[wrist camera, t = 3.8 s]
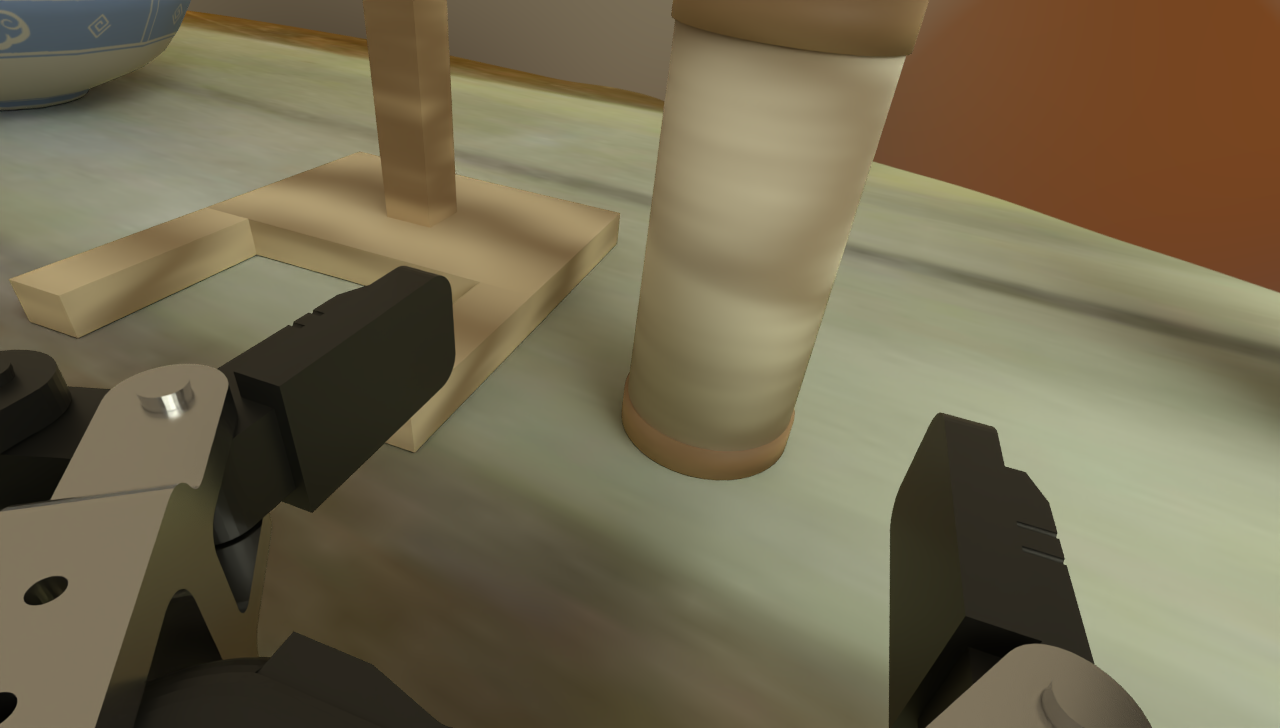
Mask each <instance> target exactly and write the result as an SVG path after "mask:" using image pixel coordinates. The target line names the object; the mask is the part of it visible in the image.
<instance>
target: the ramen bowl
mask: <svg viewBox="0 0 1280 728" xmlns="http://www.w3.org/2000/svg"><path fill="white" fill-rule="evenodd" d="M190 1H191V0H0V110H17V109H30V108H43V107H47V106H52V105H57V104H62V103H67V102H69V101H72V100H75V99H78V98H81V97H83V96H84V95H85V94H87V92H88V90H89V89H90V88H92V87H95V86H98V85H100V84H103V83H106V82H108V81H111V80H113V79H116V78H118V77H121V76H123V75H125V74H128V73H130V72H132V71H134V70H137V69H139V68H141V67H144V66H145V65H147V64H148V63H149V62H150V61H152V60H153V59H154V58H156V57H157V56H158V55H159V54H161V53H162V52H163V51H165V49H166V48H167V46H168V45H169V43H170V41H171V40H172V38H173V37H174V35H175V34H176V32H177V31H178V29H179V27H180V25H181V22H182V20H183V18H184V15H185V13H186V11H187V8H188V6H189V4H190Z"/></svg>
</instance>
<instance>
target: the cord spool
mask: <svg viewBox="0 0 1280 728" xmlns="http://www.w3.org/2000/svg"><path fill="white" fill-rule="evenodd" d="M928 2H929V0H673V5H672V13H671V16H672V18H674V19H675V26H674V33H673V41H672V49H671V57H670V65H669V72H668V81H667V88H666V96H665V103H664V111H663V119H662V127H661V134H660V142H659V150H658V158H657V165H656V173H655V181H654V189H653V197H652V204H651V212H650V220H649V228H648V235H647V243H646V251H645V259H644V266H643V274H642V282H641V290H640V298H639V305H638V313H637V321H636V329H635V336H634V344H633V352H632V360H631V367H630V372H629V374H628V376H627V378H626V382H625V388H624V396H623V404H622V422H623V426H624V429H625V431H626V433H627V435H628V437H629V438H630V440H631V441H632V442H633V443H634V445H635V446H636V447H637V448H638V449H639V450H640V451H641V452H642V453H644V454H645V455H646V456H648V457H649V458H650V459H652V460H653V461H655V462H657V463H658V464H660V465H662V466H664V467H666V468H668V469H670V470H673V471H676V472H678V473H681V474H684V475H688V476H692V477H696V478H702V479H710V480H734V479H741V478H746V477H750V476H753V475H756V474H758V473H761V472H763V471H765V470H766V469H768V468H770V467H771V466H772V465H773V464H775V463H776V462H777V461H778V459H779V458H780V457H781V455H782V454H783V452H784V449H785V446H786V443H787V440H788V437H789V434H790V431H791V428H792V424H793V421H794V415H795V411H794V407H795V404H796V401H797V397H798V394H799V391H800V388H801V385H802V382H803V378H804V375H805V372H806V369H807V366H808V363H809V360H810V356H811V353H812V350H813V347H814V344H815V341H816V338H817V334H818V331H819V328H820V325H821V322H822V319H823V315H824V312H825V309H826V306H827V303H828V300H829V297H830V293H831V290H832V287H833V284H834V281H835V278H836V275H837V271H838V268H839V265H840V262H841V259H842V256H843V253H844V249H845V246H846V243H847V240H848V237H849V234H850V230H851V227H852V224H853V221H854V218H855V215H856V212H857V208H858V205H859V202H860V199H861V196H862V193H863V190H864V186H865V183H866V180H867V177H868V174H869V171H870V168H871V164H872V161H873V158H874V155H875V152H876V149H877V145H878V142H879V139H880V136H881V133H882V130H883V127H884V123H885V120H886V117H887V114H888V111H889V108H890V105H891V101H892V98H893V95H894V92H895V89H896V86H897V82H898V79H899V76H900V73H901V70H902V67H903V64H904V60H905V57H906V55H910V54H912V51H913V48H914V45H915V42H916V39H917V36H918V33H919V30H920V27H921V24H922V20H923V17H924V14H925V11H926V8H927V5H928Z"/></svg>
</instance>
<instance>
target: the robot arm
mask: <svg viewBox="0 0 1280 728" xmlns="http://www.w3.org/2000/svg"><path fill="white" fill-rule="evenodd" d="M455 355H456V351H455V335H454V319H453V303H452V290H451V285H450V283H449V281H448V279H447V278H446V277H444V276H441V275H438V274H434V273H430V272H427V271H423V270H419V269H416V268H412V267H408V266H399V267H397V268H395V269H394V270H392V271H391V272H389V273H387V274H386V275H384V276H383V277H381V278H379V279H378V280H376V281H375V282H373V283H372V284H370V285H367V286H364V287H361V288H358V289H355V290H352V291H348V292H345V293H342V294H339V295H337V296H335V297H333V298H332V299H330V300H328V301H327V302H325V303H324V304H322V305H320V306H319V307H317V308H315V309H314V310H313V313H312V314H311V313H307V314H306V315H304V316H302V317H301V318H299V319H297V320H296V321H294V323H293V326H290V325H288V326H286V327H284V328H283V329H281V330H280V331H278V332H276V333H275V334H273V335H271V336H270V337H268V338H267V339H265V340H263V341H262V342H260V343H258V344H257V345H255V346H254V347H252V348H250V349H249V350H247V351H245V352H244V353H242V354H241V355H239V356H237V357H236V358H234V359H232V360H231V361H229V362H228V363H226V364H224V365H223V366H221V367H219V368H218V369H215V368H213V367H210V366H206V365H200V364H175V365H167V366H162V367H157V368H154V369H150V370H147V371H144V372H141V373H138V374H136V375H134V376H132V377H129V378H127V379H126V380H124V381H122V382H120V383H119V384H117V385H116V386H115V387H113V388H112V389H98V388H83V387H69V386H67V384H66V382H65V380H64V378H63V376H62V374H61V372H60V370H59V368H58V366H57V364H56V362H55V361H54V359H53V358H52V357H50V356H49V355H47V354H44V353H41V352H37V351H30V350H7V351H0V728H451V727H447V726H445V725H443V724H441V723H440V722H438V721H437V720H436V719H434V718H433V717H432V716H431V715H430V714H429V713H427V712H426V711H425V710H424V709H423V708H422V707H421V706H419V705H418V704H417V703H416V702H415V701H414V700H413V699H411V698H410V697H409V696H408V695H407V694H406V693H405V692H403V691H402V690H401V689H400V688H399V687H398V686H397V685H395V684H394V683H393V682H392V681H391V680H390V679H389V678H387V677H386V676H385V675H384V674H383V673H382V672H380V671H379V670H378V669H377V668H376V667H375V666H374V665H372V664H370V663H368V662H365V661H363V660H360V659H358V658H356V657H353V656H351V655H349V654H346V653H344V652H341V651H339V650H337V649H334V648H332V647H329V646H327V645H325V644H322V643H320V642H318V641H315V640H313V639H310V638H308V637H306V636H303V635H301V634H299V633H296V632H293V633H292V634H291V635H290V636H289V637H288V639H287V640H286V641H285V642H284V643H283V644H282V645H281V646H280V648H279V649H278V650H277V651H276V652H275V653H274V654H273V656H272V657H259V656H258V649H257V627H258V620H259V613H260V607H261V600H262V593H263V587H264V580H265V573H266V567H267V560H268V553H269V547H270V540H271V533H272V520H271V517H270V513H269V512H270V511H271V510H272V509H273V508H275V507H276V506H277V505H278V504H279V503H280V502H281V501H282V502H285V503H287V504H290V505H293V506H295V507H298V508H301V509H303V510H306V511H309V512H312V513H313V512H314V511H315V510H316V509H317V508H318V507H319V506H320V505H321V504H322V503H323V502H324V501H325V500H326V499H327V498H328V497H329V496H330V495H331V494H332V493H333V492H334V491H335V490H336V489H337V488H338V487H340V486H341V485H342V484H343V483H344V482H345V481H346V480H347V479H348V478H349V477H350V476H351V475H352V474H353V473H354V472H355V471H356V470H357V469H358V468H359V467H360V466H361V465H362V464H363V463H364V462H365V461H367V460H368V459H369V458H370V457H371V456H372V455H373V454H374V453H375V452H376V451H377V450H378V449H379V448H380V447H381V446H382V445H383V444H384V443H385V442H386V441H387V440H388V439H389V438H390V437H391V436H392V435H394V434H395V433H396V432H397V431H398V430H399V429H400V428H401V427H402V426H403V425H404V424H405V423H406V422H407V421H408V420H409V419H410V418H411V417H412V416H413V415H414V414H415V413H416V412H417V411H418V410H420V409H421V408H422V407H423V406H424V405H425V404H426V403H427V402H428V401H429V400H430V399H431V398H432V397H433V396H434V395H435V394H436V393H437V392H438V391H439V390H440V389H441V388H442V387H443V386H444V385H445V384H446V382H447V381H448V379H449V377H450V375H451V373H452V370H453V367H454V363H455ZM1056 535H1057V530H1056V526H1055V522H1054V519H1053V515H1052V512H1051V508H1050V505H1049V502H1048V501H1047V499H1046V498H1045V497H1044V496H1043V494H1042V493H1041V492H1040V490H1039V489H1038V488H1037V486H1036V485H1035V484H1034V483H1033V481H1032V480H1031V479H1030V477H1029V476H1028V475H1027V473H1026V472H1023V471H1019V470H1016V469H1012V468H1009V467H1005V466H1004V461H1003V456H1002V452H1001V447H1000V442H999V438H998V433H997V430H996V429H995V428H994V427H992V426H988V425H985V424H981V423H977V422H974V421H970V420H966V419H962V418H959V417H955V416H951V415H948V414H944V413H938V414H937V415H936V416H935V417H934V418H933V420H932V422H931V423H930V425H929V427H928V429H927V432H926V434H925V436H924V438H923V440H922V442H921V444H920V446H919V448H918V450H917V452H916V455H915V457H914V459H913V461H912V463H911V465H910V467H909V469H908V471H907V473H906V475H905V478H904V480H903V482H902V484H901V486H900V488H899V491H898V493H897V496H896V499H895V503H894V507H893V511H892V517H891V524H890V637H889V728H1152V727H1151V725H1150V723H1149V721H1148V719H1147V718H1146V716H1145V715H1144V713H1143V711H1142V710H1141V709H1140V707H1139V706H1138V705H1137V703H1136V702H1135V701H1134V700H1133V698H1132V697H1131V696H1130V695H1129V694H1128V693H1127V692H1126V691H1125V690H1124V689H1123V688H1122V686H1121V685H1119V684H1118V683H1117V682H1116V681H1115V680H1114V679H1113V678H1111V677H1110V676H1109V675H1108V674H1107V673H1105V672H1104V671H1103V670H1101V669H1100V668H1098V667H1097V666H1096V665H1094V661H1093V657H1092V654H1091V650H1090V647H1089V643H1088V640H1087V636H1086V633H1085V629H1084V625H1083V622H1082V618H1081V615H1080V611H1079V608H1078V604H1077V601H1076V597H1075V593H1074V590H1073V586H1072V583H1071V579H1070V576H1069V572H1068V569H1067V565H1064V564H1063V562H1064V559H1065V558H1064V554H1063V551H1062V547H1061V544H1060V540H1059V539H1057V538H1056Z"/></svg>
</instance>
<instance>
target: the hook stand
mask: <svg viewBox="0 0 1280 728" xmlns="http://www.w3.org/2000/svg"><path fill="white" fill-rule="evenodd" d="M363 8H364V17H365V25H366V34H367V43H368V52H369V61H370V70H371V78H372V87H373V96H374V105H375V114H376V122H377V131H378V140H379V149H380V156H376V155H372V154H367V153H363V152H357V153H354V154H352V155H349V156H346V157H343V158H341V159H338V160H335V161H333V162H330V163H327V164H324V165H322V166H319V167H316V168H313V169H311V170H308V171H305V172H302V173H300V174H297V175H294V176H291V177H289V178H286V179H283V180H280V181H278V182H275V183H272V184H269V185H267V186H264V187H261V188H258V189H256V190H253V191H250V192H247V193H245V194H242V195H239V196H236V197H234V198H231V199H228V200H225V201H223V202H220V203H217V204H214V205H212V206H209V207H206V208H203V209H201V210H198V211H195V212H192V213H190V214H187V215H184V216H181V217H179V218H176V219H173V220H171V221H168V222H165V223H162V224H160V225H157V226H154V227H151V228H149V229H146V230H143V231H140V232H138V233H135V234H132V235H129V236H127V237H124V238H121V239H118V240H116V241H113V242H110V243H107V244H105V245H102V246H99V247H96V248H94V249H91V250H88V251H85V252H83V253H80V254H77V255H74V256H72V257H69V258H66V259H63V260H61V261H58V262H55V263H52V264H50V265H47V266H44V267H41V268H39V269H36V270H33V271H30V272H28V273H25V274H22V275H19V276H17V277H14V278H11V279H9V281H10V283H11V285H12V287H13V289H14V291H15V293H16V295H17V297H18V299H19V301H20V303H21V305H22V307H23V309H24V311H25V313H26V315H27V317H28V319H29V321H30V322H32V323H35V324H38V325H41V326H44V327H47V328H50V329H53V330H56V331H59V332H61V333H64V334H67V335H70V336H73V337H76V338H79V337H81V336H84V335H86V334H88V333H90V332H92V331H94V330H96V329H99V328H101V327H103V326H105V325H107V324H109V323H111V322H114V321H116V320H118V319H120V318H122V317H124V316H126V315H129V314H131V313H133V312H135V311H137V310H139V309H141V308H144V307H146V306H148V305H150V304H152V303H154V302H156V301H159V300H161V299H163V298H165V297H167V296H169V295H171V294H173V293H176V292H178V291H180V290H182V289H184V288H186V287H188V286H191V285H193V284H195V283H197V282H199V281H201V280H203V279H206V278H208V277H210V276H212V275H214V274H216V273H218V272H221V271H223V270H225V269H227V268H229V267H231V266H233V265H236V264H238V263H240V262H242V261H244V260H246V259H248V258H251V257H253V256H255V255H260V256H264V257H267V258H271V259H274V260H278V261H281V262H285V263H288V264H292V265H295V266H299V267H302V268H306V269H309V270H313V271H316V272H320V273H323V274H327V275H330V276H334V277H337V278H341V279H344V280H348V281H351V282H355V283H358V284H362V285H365V286H367V285H370V284H372V283H373V282H375V281H376V280H378V279H379V278H381V277H383V276H384V275H386V274H387V273H389V272H391V271H392V270H394V269H395V268H397V267H399V266H408V267H412V268H416V269H419V270H423V271H427V272H430V273H434V274H438V275H441V276H444V277H446V278H447V279H448V281H449V283H450V285H451V290H452V303H453V319H454V335H455V351H456V355H455V363H454V367H453V370H452V373H451V375H450V377H449V379H448V381H447V382H446V384H445V385H444V386H443V387H442V388H441V389H440V390H439V391H438V392H437V393H436V394H435V395H434V396H433V397H432V398H431V399H430V400H429V401H428V402H427V403H426V404H425V405H424V406H423V407H422V408H421V409H420V410H418V411H417V412H416V413H415V414H414V415H413V416H412V417H411V418H410V419H409V420H408V421H407V422H406V423H405V424H404V425H403V426H402V427H401V428H400V429H399V430H398V431H397V432H396V433H395V434H394V435H392V436H391V437H390V438H389V439H388V440H387V441H386V442H385V443H388V444H391V445H394V446H397V447H399V448H402V449H405V450H408V451H411V452H414V453H415V452H416V451H417V450H418V449H419V448H420V447H421V446H422V445H423V444H424V443H425V442H426V441H427V440H428V438H429V437H430V436H431V435H432V434H433V433H434V432H435V431H436V430H437V429H438V428H439V427H440V426H441V425H442V424H443V423H444V422H445V421H446V420H447V419H448V418H449V417H450V416H451V415H452V414H453V413H454V412H455V411H456V410H457V408H458V407H459V406H460V405H461V404H462V403H463V402H464V401H465V400H466V399H467V398H468V397H469V396H470V395H471V394H472V393H473V392H474V391H475V390H476V389H477V388H478V387H479V386H480V385H481V384H482V383H483V382H484V381H485V380H486V378H487V377H488V376H489V375H490V374H491V373H492V372H493V371H494V370H495V369H496V368H497V367H498V366H499V365H500V364H501V363H502V362H503V361H504V360H505V359H506V358H507V357H508V356H509V355H510V354H511V353H512V352H513V351H514V350H515V348H516V347H517V346H518V345H519V344H520V343H521V342H522V341H523V340H524V339H525V338H526V337H527V336H528V335H529V334H530V333H531V332H532V331H533V330H534V329H535V328H536V327H537V326H538V325H539V324H540V323H541V322H542V321H543V320H544V318H545V317H546V316H547V315H548V314H549V313H550V312H551V311H552V310H553V309H554V308H555V307H556V306H557V305H558V304H559V303H560V302H561V301H562V300H563V299H564V298H565V297H566V296H567V295H568V294H569V293H570V292H571V291H572V290H573V288H574V287H575V286H576V285H577V284H578V283H579V282H580V281H581V280H582V279H583V278H584V277H585V276H586V275H587V274H588V273H589V272H590V271H591V270H592V269H593V268H594V267H595V266H596V265H597V264H598V263H599V262H600V261H601V260H602V259H603V257H604V256H605V255H606V254H607V253H608V252H609V251H610V250H611V249H612V248H613V247H614V246H615V245H616V244H617V239H618V229H619V219H620V213H617V212H612V211H608V210H604V209H600V208H596V207H591V206H587V205H583V204H579V203H574V202H570V201H566V200H562V199H558V198H553V197H549V196H545V195H541V194H536V193H532V192H528V191H524V190H520V189H515V188H511V187H507V186H503V185H498V184H494V183H490V182H486V181H482V180H477V179H473V178H469V177H465V176H460V175H456V174H455V161H454V140H453V120H452V100H451V79H450V59H449V39H448V18H447V0H363Z"/></svg>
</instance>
